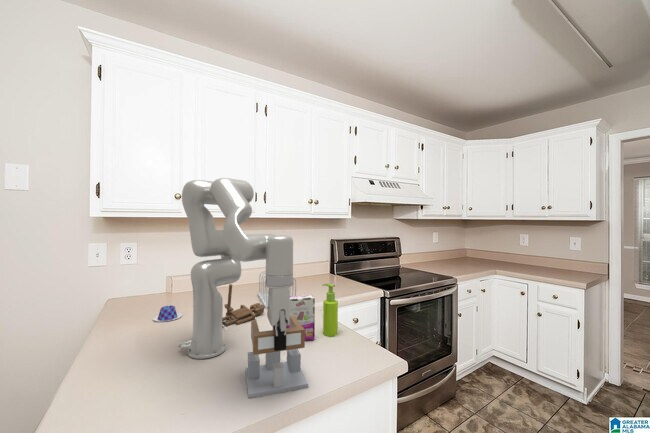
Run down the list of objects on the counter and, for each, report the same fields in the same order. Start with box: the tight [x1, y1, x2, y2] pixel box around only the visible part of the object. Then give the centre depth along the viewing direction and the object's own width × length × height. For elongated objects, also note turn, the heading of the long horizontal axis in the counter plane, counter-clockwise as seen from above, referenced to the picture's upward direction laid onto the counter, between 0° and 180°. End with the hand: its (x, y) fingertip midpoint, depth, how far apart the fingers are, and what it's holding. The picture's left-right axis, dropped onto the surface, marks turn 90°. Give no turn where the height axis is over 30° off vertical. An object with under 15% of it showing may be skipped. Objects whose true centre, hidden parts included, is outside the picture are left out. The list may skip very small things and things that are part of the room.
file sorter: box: [257, 270, 297, 310], centre depth 161 cm, size 25×17×16 cm
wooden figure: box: [222, 283, 265, 331], centre depth 129 cm, size 14×18×25 cm
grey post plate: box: [245, 349, 309, 399], centre depth 82 cm, size 16×14×8 cm
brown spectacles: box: [250, 316, 306, 355], centre depth 83 cm, size 14×13×5 cm
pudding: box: [152, 305, 183, 322], centre depth 131 cm, size 12×12×5 cm
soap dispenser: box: [322, 283, 339, 338], centre depth 116 cm, size 6×7×20 cm
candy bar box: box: [286, 294, 316, 342], centre depth 110 cm, size 11×5×16 cm, turn 105°
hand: (279, 346), depth 78 cm, fingers closed on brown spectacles, 2 cm apart
